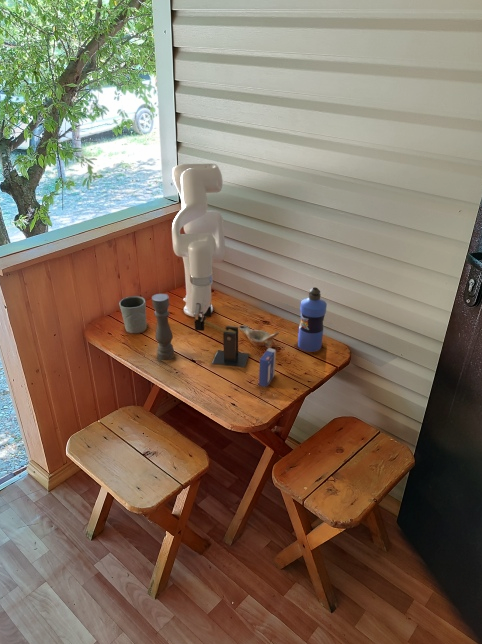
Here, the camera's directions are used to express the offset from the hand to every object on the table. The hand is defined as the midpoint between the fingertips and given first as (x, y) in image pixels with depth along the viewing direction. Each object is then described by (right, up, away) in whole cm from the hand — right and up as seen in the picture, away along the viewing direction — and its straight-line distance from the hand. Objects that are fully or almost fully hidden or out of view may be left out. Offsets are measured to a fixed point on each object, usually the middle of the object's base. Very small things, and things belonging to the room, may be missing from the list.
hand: (203, 322), depth 168 cm
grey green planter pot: (-30, -1, +26) cm, 39 cm away
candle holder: (-14, -13, +8) cm, 21 cm away
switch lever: (+5, -3, +1) cm, 5 cm away
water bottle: (+39, -9, +15) cm, 43 cm away
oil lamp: (+20, -7, +17) cm, 27 cm away
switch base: (+10, -14, +7) cm, 18 cm away
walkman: (+22, -21, -4) cm, 31 cm away
